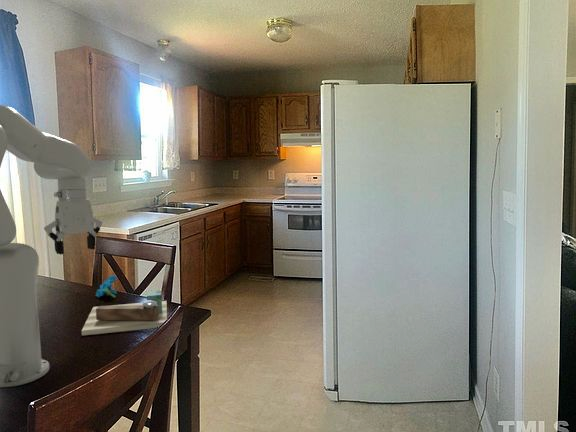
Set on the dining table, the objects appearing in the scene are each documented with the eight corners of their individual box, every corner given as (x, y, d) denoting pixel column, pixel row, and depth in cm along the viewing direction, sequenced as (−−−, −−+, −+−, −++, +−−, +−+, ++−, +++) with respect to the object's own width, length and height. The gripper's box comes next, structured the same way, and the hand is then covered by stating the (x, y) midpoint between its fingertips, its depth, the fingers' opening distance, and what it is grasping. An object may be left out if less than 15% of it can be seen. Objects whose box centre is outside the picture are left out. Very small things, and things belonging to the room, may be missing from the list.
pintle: (156, 320, 135) (156, 304, 135) (143, 322, 134) (142, 306, 134) (157, 316, 139) (156, 300, 138) (143, 317, 138) (143, 302, 137)
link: (158, 315, 139) (158, 304, 138) (155, 320, 134) (154, 308, 134) (101, 316, 138) (100, 305, 138) (95, 320, 134) (95, 309, 134)
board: (167, 326, 134) (167, 322, 134) (81, 335, 128) (81, 330, 128) (166, 304, 155) (166, 300, 155) (93, 311, 149) (93, 307, 149)
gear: (94, 288, 170) (112, 270, 171) (106, 297, 173) (124, 278, 174) (93, 300, 160) (113, 280, 161) (106, 309, 163) (126, 289, 164)
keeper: (162, 312, 143) (161, 294, 142) (147, 313, 142) (146, 296, 141) (162, 307, 148) (161, 290, 147) (148, 308, 146) (147, 291, 146)
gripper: (48, 197, 123) (52, 257, 125) (106, 194, 137) (109, 248, 139) (36, 196, 128) (40, 254, 129) (93, 193, 141) (96, 246, 143)
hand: (76, 251), depth 134 cm, fingers open, 9 cm apart
